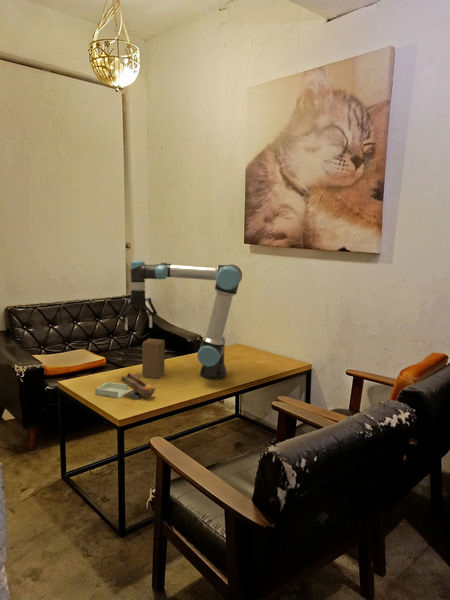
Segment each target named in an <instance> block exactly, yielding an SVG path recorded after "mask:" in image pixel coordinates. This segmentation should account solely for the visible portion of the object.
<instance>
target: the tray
mask: <svg viewBox="0 0 450 600" xmlns="http://www.w3.org/2000/svg"><path fill="white" fill-rule="evenodd" d="M132 392H133V389H129V386H128V385H126V384H125V383H118V382H113V381H112V382H111V381H107V382H105V383H103V384H101V385H100V386H98V387H96V388H95V395H96V396H103V397H109V398H114V399H115V398H116V399H122V398H124V397H125V396H127V395H129V394H130V393H132Z"/></svg>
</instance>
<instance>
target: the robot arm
mask: <svg viewBox="0 0 450 600" xmlns="http://www.w3.org/2000/svg"><path fill="white" fill-rule="evenodd" d="M129 266H130V268H129V270H130V272H129V273H130V299H127V298H124V304H123V306H122V308H121V310H120V312H119V315H118V316H119V317H120V318H122V323H123V324H124V330H125V331H128V315H129V314H130V313H131V312H132V310H133V309H134V308H141V307H143V308H144V309H145V311H147V313H149V315H148V319H149V322H148V325H149V326H148V327H149V328H151V329H152V328H153V322H154V321H155V317H154V316H155V315H156V316H157V314H158V312H157V311H156V308H155V306H154V304H153V302H152V298H151V297H147V298H146V290H145V289H146V280H160V281H161V280H166V279H167V278H174V279H175V278H176V279H177V278H178V279H193V280H204V281H215V285H214V290H215V292H216V294H215V298H214V302H213V306H212V309H211V315H210V319H209V323H208V327H207V332H206V335H205V336H203V337H202V339H201V342H200V346H199V347H200V348H199V349H198V351H197V356H196V357H197V359H198V362H199V363H200V364H201V368H200V372H199V373H200V374H199V376H200V377H201V378H203V379H207V380H222V379H225V378H227V377H228V376H227V375H228V373H227V371H228V370H227V368H226V364H225V347H226V346H225V345H226V338H225V337H224V334H225V333H224V332H225V329H226V324H227V320H228V317H229V313H230V309H231V305H232V301H233V297H234V296H235V295H237V293H238V289H239V285H240V283H241V281H242V279H243V272H242V270H241V268H240V267H239V266H237V265H235V264H217V266H214V265H213V266H211V265H196V264H194V265H192V264H180V263H168V262H160V263H158V264H146V262H145V261H144V260H132V261H131V262H130V265H129ZM146 302H147V303H148V304H149V306H150V308H151V309H150V308H149V307H148V305H146V304H145V303H146ZM129 304H130V306H129V307H128V305H129ZM127 307H128V308H127ZM126 309H127V310H126Z"/></svg>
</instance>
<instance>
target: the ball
mask: <svg viewBox="0 0 450 600" xmlns="http://www.w3.org/2000/svg"><path fill="white" fill-rule="evenodd" d="M152 388H153V387H152V385H150V384H147V385H146V386H145V388H144V390H146V391H147V392H149V391H150V390H152Z"/></svg>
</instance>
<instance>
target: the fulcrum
mask: <svg viewBox="0 0 450 600" xmlns="http://www.w3.org/2000/svg"><path fill="white" fill-rule="evenodd" d="M128 396H129V397H128V398H129V399H133V400H140V399H141V398H143V397H144V396H143V395H142V394H140V393H139V392H137V391H136V390H133V389H132V391H131V392H130V393H128Z"/></svg>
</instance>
